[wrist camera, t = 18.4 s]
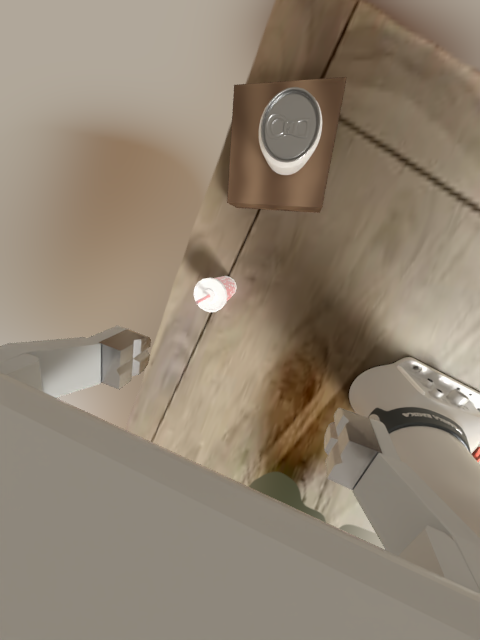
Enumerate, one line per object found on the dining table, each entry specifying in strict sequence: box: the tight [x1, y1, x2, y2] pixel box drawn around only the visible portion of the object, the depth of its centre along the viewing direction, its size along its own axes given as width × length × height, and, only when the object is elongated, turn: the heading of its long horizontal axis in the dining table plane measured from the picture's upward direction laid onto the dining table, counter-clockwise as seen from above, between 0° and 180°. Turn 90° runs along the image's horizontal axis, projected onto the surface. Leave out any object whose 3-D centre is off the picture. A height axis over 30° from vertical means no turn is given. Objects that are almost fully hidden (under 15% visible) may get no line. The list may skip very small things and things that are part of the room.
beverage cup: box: [194, 276, 237, 312], centre depth 41 cm, size 6×6×14 cm
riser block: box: [227, 77, 347, 213], centre depth 35 cm, size 15×15×6 cm
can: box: [259, 87, 322, 175], centre depth 27 cm, size 6×6×12 cm
